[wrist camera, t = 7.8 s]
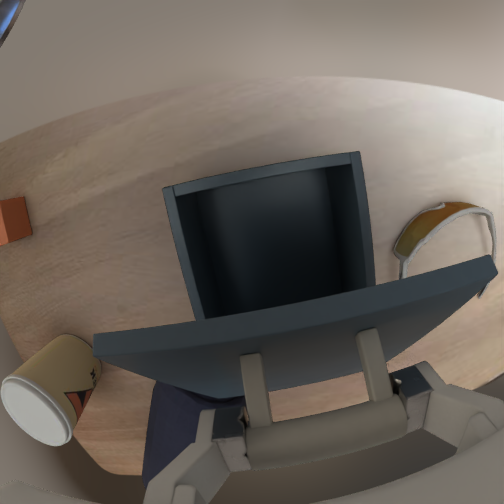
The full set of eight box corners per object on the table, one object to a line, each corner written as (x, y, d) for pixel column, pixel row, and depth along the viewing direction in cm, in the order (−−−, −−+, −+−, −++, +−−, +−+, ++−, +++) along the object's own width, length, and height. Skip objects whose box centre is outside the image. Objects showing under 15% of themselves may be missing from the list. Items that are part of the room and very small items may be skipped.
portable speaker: (210, 474, 39) (205, 524, 29) (148, 458, 38) (134, 507, 28) (257, 356, 33) (261, 419, 23) (169, 333, 32) (144, 389, 23)
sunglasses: (471, 179, 28) (500, 188, 23) (480, 283, 34) (502, 301, 29) (374, 224, 29) (397, 241, 25) (397, 331, 35) (415, 355, 30)
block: (1, 206, 28) (-23, 212, 24) (24, 196, 28) (-1, 201, 24) (9, 242, 30) (-14, 251, 25) (32, 234, 29) (8, 242, 25)
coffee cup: (97, 398, 35) (63, 459, 23) (43, 361, 34) (-2, 412, 22) (116, 355, 33) (75, 421, 22) (55, 314, 32) (-2, 363, 20)
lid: (92, 333, 9) (100, 479, 6) (490, 253, 8) (533, 381, 6) (217, 389, 24) (224, 444, 21) (378, 357, 23) (390, 410, 21)
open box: (186, 183, 28) (161, 188, 20) (328, 156, 28) (360, 150, 19) (224, 339, 32) (218, 390, 24) (349, 314, 32) (377, 358, 23)
